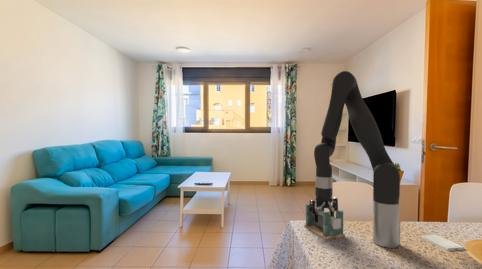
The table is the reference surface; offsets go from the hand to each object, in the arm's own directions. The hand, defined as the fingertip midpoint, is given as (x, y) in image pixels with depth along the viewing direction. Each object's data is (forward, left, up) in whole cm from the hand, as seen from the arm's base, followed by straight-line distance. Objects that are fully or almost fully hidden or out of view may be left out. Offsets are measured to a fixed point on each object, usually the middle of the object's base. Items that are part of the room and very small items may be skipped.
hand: (323, 221), depth 117 cm
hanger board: (0, 0, -5) cm, 5 cm away
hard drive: (-38, +27, -6) cm, 47 cm away
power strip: (0, 0, -2) cm, 2 cm away
